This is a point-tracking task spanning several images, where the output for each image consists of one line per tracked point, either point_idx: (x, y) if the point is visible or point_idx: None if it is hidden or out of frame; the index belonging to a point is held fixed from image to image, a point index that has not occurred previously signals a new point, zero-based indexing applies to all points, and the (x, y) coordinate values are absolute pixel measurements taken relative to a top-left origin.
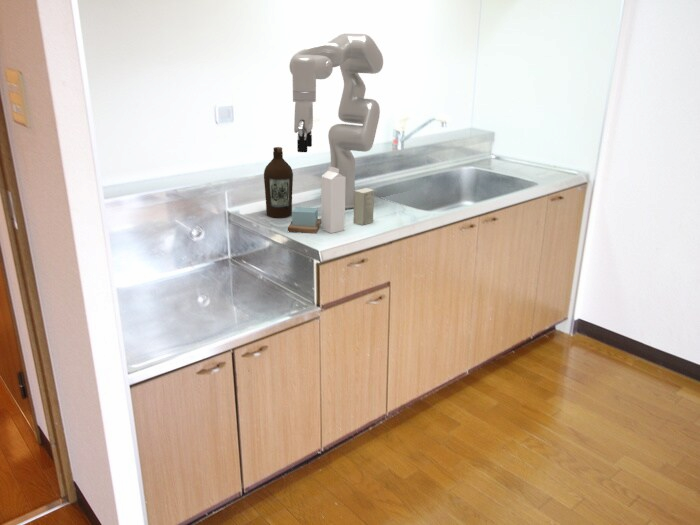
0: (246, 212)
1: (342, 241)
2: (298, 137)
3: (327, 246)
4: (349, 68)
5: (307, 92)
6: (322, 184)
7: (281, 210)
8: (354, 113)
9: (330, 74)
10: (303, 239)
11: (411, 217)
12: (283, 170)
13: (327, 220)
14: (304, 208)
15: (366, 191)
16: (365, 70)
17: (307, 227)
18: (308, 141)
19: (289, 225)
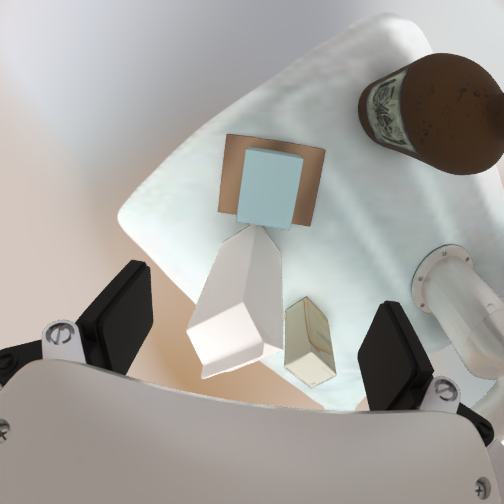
0: (404, 34)
1: (170, 263)
2: (45, 342)
3: (136, 232)
4: None
5: None
6: (238, 286)
7: (364, 116)
8: None
9: None
10: (173, 178)
11: (329, 386)
12: (429, 129)
13: (229, 247)
14: (283, 188)
15: (299, 374)
16: None
17: (231, 188)
18: (372, 368)
19: (249, 138)
